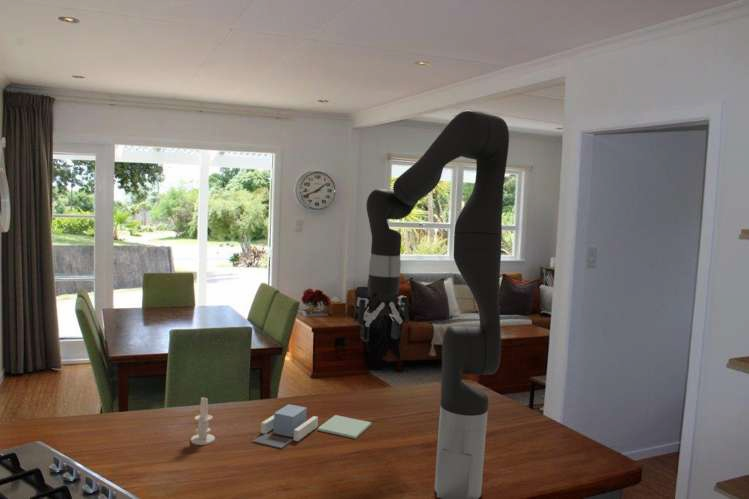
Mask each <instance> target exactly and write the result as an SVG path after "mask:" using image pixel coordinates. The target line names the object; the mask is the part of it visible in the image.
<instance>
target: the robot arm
mask: <svg viewBox="0 0 749 499" xmlns="http://www.w3.org/2000/svg"><path fill="white" fill-rule="evenodd" d="M509 144H510V132H509V127H508V124H507V123H506V120H504V119H503V118H502V117H500V116H499V115H498V116H497V115H494V114H490V113H487V112H482V111H479V110H473V109H467V110H466V109H465V110H462V111H461V112H459V113H458V114H456V115H455V116H454V117H453V118H452V119H451V120H450V122H449V123H447V125H446V126H445V127H444V128H443V130H442V131H441V132H440V134H439V135H438V136H437V137H436V138H435V140H434V141H433V142H432V144H431V145H430V146H429V147H428V149H427V150H426V151H425V152H424V154H423V155H422V156H421V157H420V158H419V159H418V160H417V161H416V162H415V163H414V164H413V165H411V166H410V167H409V168H408V169H407V170H406V171H404V172H403V173H401V175H399V176H398V177H397V178H396V180H395V181H394V182H393V185H392V187H393V188H392V189H385V188H375V189H374V190H372V191H371V192H370V193H369V194H368V197H367V199H366V213H367V217H368V222H369V227H370V233H371V234H370V235H371V249H370V257H369V265H368V280H367V292H368V295H367V298H361V297H359V296H358V297H356V298H355V303H354V314H353V323H355V324H358V325H360V335H359V337H360V339H361V341H363V342H365V343H366V342H367V343H368V342H369V341H370V330H371V329H370V327H371V326H370V324H371V323H372V322H373V320H376V318H377V317H380V316H381V317H382V316H389V317H390V318H391V320H392V321H393V322H391V330H390V331H391V333H390V337H391V338H392V339H394V340H398V339H399V337H400V336H401V327H402V326H401V325H402V323H403V322H406V321H407V322H408V321H409V306H410V304H409V302H410V298H409V297H408V296H405V295H399V296H398V294H399V292H400V283H401V282H400V280H401V264H402V263H401V262H402V261H401V252H402V251H401V249H402V234H401V232H400V231H398V230H396V229H392V228H390V225H389V223H388V220H402V219H404V218H407V217H408V216H410V215H411V213H412V211H413V210H414V208H415V207H416V205H417V203H418V202H419V201H421V199H423V198H424V197H426V196H427V195H429V194H430V193H431V192H432V191H433V190H434V189H436V187H437V186H438V185H439V183H440V181H441V178H442V175H443V171H444V168H445V167H446V165H448V164H449V163H451V162H453V161H454V160H456V159H458V158H461V157H462V158H466V159H470V160H475V161H476V162H475V164H476V168H475V170H476V172H475V181H474V186H473V189H472V192H471V193H470V196H469V198H467V201H466V203H465V204H464V206H463V207H462V209H461V211H460V213H459V215H458V217H457V219H456V222H455V225H454V233H453V234H454V236H453V259H454V263H455V265H456V267H457V270H458V271H459V274H460V275H461V276H462V278H463V280H464V282H465V283H466V285H467V287H468V288H469V290H470V292H471V294H472V296H473V299H474V301H475V304H476V306H477V310H478V318H479V326H471V325H470V326H467V325H466V326H465V325H452V326H449V327H447V328H446V329H445V332H444V333H443V337H442V344H441V346H442V347H441V381H440V383H441V384H440V406H439V419H438V432H437V433H438V434H437V446H436V458H435V459H436V460H435V462H436V463H435V473H434V474H435V475H434V476H435V478H434V488H433V489H434V491H435V493H436V498H438V499H479V498H481V495H482V487H483V476H484V475H483V472H484V462H485V461H484V460H485V449H486V448H485V447H486V446H485V445H486V436H487V426H488V425H487V423H488V410H489V397H488V395H487V394H486V393H485V392H484V391H482V390H481V389H478V388H476V387H473V386H471V385H469V384H467V383H465V382H463V381H462V375H477V376H478V375H484V376H485V375H486V376H487V375H488V376H489V375H494V374H495V373H496V372H497V371H498V369H499V367H500V365H501V363H500V362H501V358H502V357H501V354H502V339H501V337H502V335H501V333H502V332H501V315H500V313H501V310H500V280H501V279H500V278H501V277H500V276H501V261H502V260H501V259H502V239H503V238H502V236H503V234H502V233H503V232H502V230H503V228H502V226H503V225H502V222H503V221H502V219H503V205H504V204H503V199H504V188H505V187H504V186H505V179H506V178H505V177H506V171H507V170H506V168H507V162H508V155H509V154H508V153H509V146H510V145H509ZM397 305H398V309H397V308H396V307H397ZM367 306H368V307H367ZM365 308H366V310H365Z"/></svg>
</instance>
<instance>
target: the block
mask: <svg viewBox="0 0 749 499" xmlns="http://www.w3.org/2000/svg"><path fill="white" fill-rule="evenodd" d="M307 409H308V408H307V407H306V406H300V405H294V404H290V403H288V404H286V405H285V406H283V407H282V408H280V409H279V410H277V411H275V412H274V414H273V415H274V429H273V434H276V435H281V436H285V437H290V438H294V429H296V428H297V427H299V426H300V425H302V424H303V423H304V422H306V421H307Z"/></svg>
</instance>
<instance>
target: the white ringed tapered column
mask: <svg viewBox="0 0 749 499" xmlns="http://www.w3.org/2000/svg"><path fill="white" fill-rule="evenodd" d="M208 406H209V399H208V398H207V397H205V395H204V396H203V397H200V406H199V407H200V408H199V409H200V410H199V414H197V415H196V416H195V417H194V420H196V421H198V426H197V427H198V428H196V429H195V433H196V434H195V435H192V437H191V438H190V443H192V444H193V445H198V446H206V445H210V444H212V443H214V442H215V439H216V437H215V436H214V435H213V434H210V432H211V428H209V421H210V420H212V419H213V415H211V414H209V412H208V410H209V407H208Z"/></svg>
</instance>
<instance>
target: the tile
mask: <svg viewBox="0 0 749 499" xmlns="http://www.w3.org/2000/svg"><path fill="white" fill-rule="evenodd" d="M371 425H372V422H371V421H367V420H362V419H361V420H360V419H356V418H353V417H352V418H351V417H347V416H344V415H343V416H342V415H338V414H334V415H333V416H332V417H331V418H329V419H328V420H327V421H325V422H324V423H323V424H321V425H320V426H319V427H317V431H320V432H323V433H328V434H332V435H338V436H342V437H346V438H352V439H354V440H356V439H357V438H358V437H359V436H360V435H361V434H363V433H364V432H366V430H367V429H368V428H369V427H370V426H371Z"/></svg>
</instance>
